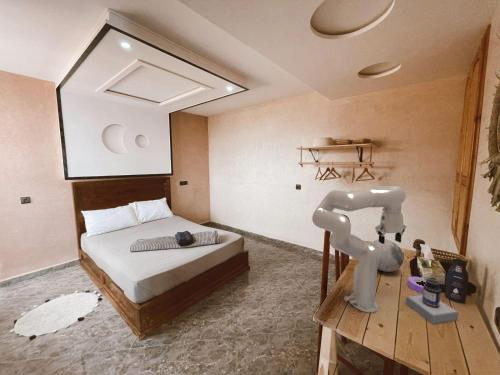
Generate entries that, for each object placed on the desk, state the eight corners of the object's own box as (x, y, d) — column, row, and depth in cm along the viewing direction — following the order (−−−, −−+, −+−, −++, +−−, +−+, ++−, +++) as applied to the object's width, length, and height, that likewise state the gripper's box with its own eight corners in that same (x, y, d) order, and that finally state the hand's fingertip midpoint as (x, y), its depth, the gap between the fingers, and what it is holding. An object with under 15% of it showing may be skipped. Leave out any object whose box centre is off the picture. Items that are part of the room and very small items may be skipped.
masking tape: (417, 280, 122) (417, 274, 121) (440, 292, 111) (441, 286, 110) (402, 284, 118) (403, 278, 118) (425, 297, 107) (426, 290, 107)
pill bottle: (431, 299, 99) (433, 277, 98) (443, 308, 93) (445, 285, 92) (418, 299, 99) (420, 278, 98) (430, 308, 93) (432, 285, 92)
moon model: (369, 275, 128) (371, 244, 125) (363, 260, 147) (364, 233, 144) (407, 280, 122) (410, 248, 119) (395, 264, 140) (398, 236, 138)
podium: (432, 324, 89) (433, 315, 89) (405, 303, 102) (406, 296, 102) (457, 320, 91) (458, 311, 91) (428, 300, 104) (429, 293, 104)
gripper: (382, 212, 100) (380, 246, 103) (413, 211, 103) (410, 243, 105) (371, 209, 108) (369, 240, 110) (400, 207, 110) (398, 238, 112)
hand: (389, 242), depth 108 cm, fingers open, 9 cm apart
